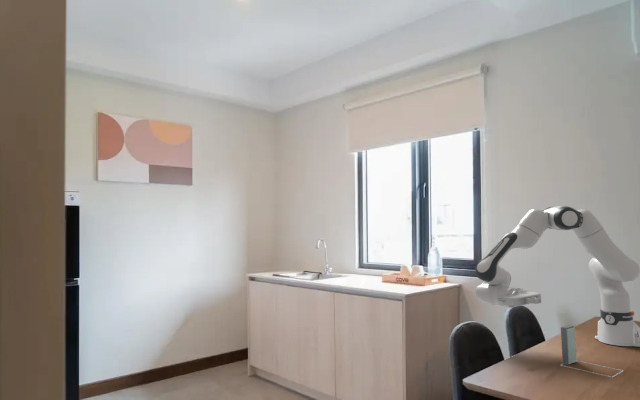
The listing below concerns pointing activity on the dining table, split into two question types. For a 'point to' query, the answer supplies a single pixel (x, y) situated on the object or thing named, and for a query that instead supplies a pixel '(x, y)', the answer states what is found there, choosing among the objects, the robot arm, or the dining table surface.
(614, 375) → the white wire frame
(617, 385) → the dining table surface
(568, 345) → the tile
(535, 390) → the dining table surface
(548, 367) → the dining table surface
